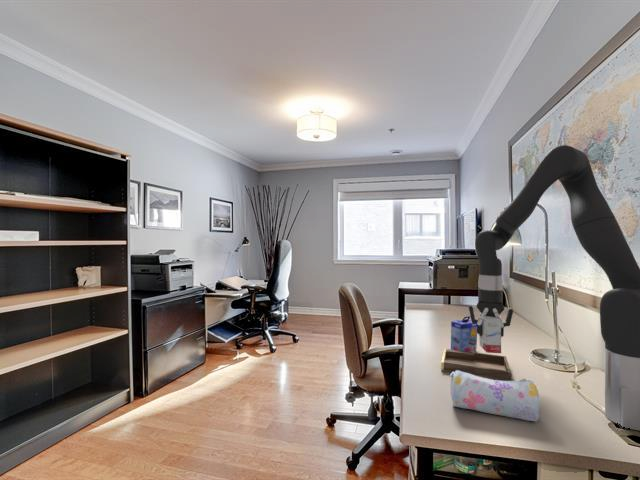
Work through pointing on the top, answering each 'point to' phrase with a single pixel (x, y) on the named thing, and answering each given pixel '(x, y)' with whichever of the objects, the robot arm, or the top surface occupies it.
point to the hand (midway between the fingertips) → (490, 336)
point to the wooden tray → (476, 364)
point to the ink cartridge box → (464, 335)
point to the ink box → (491, 334)
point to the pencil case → (495, 396)
